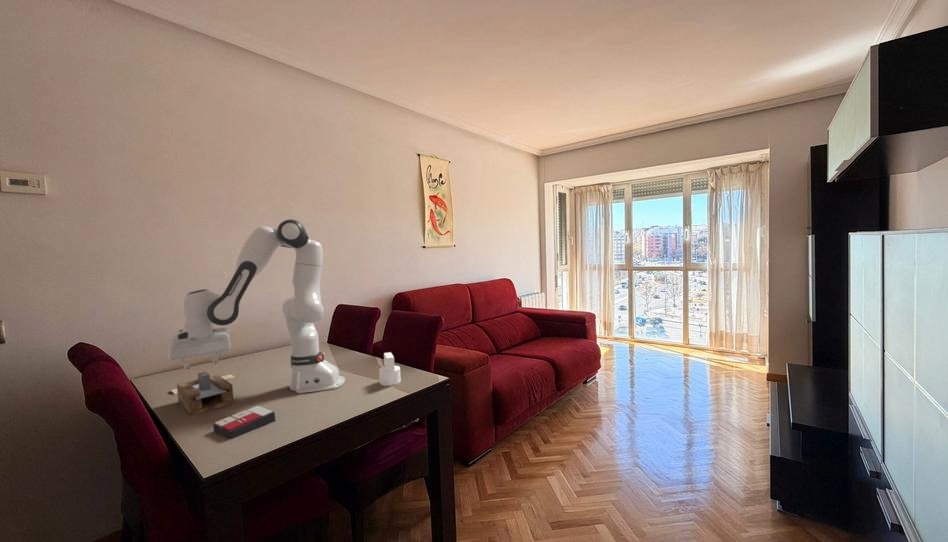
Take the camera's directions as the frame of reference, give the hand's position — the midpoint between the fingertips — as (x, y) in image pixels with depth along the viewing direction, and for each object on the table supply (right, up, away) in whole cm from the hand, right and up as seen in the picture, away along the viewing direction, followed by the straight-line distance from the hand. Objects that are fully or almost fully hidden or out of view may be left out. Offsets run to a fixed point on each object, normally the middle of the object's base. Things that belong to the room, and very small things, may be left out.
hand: (201, 365), depth 152 cm
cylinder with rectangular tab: (+71, -12, +17) cm, 74 cm away
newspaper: (-16, -15, +24) cm, 32 cm away
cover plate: (+1, -10, +1) cm, 10 cm away
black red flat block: (+30, -16, -21) cm, 40 cm away
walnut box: (+1, -15, +1) cm, 15 cm away
